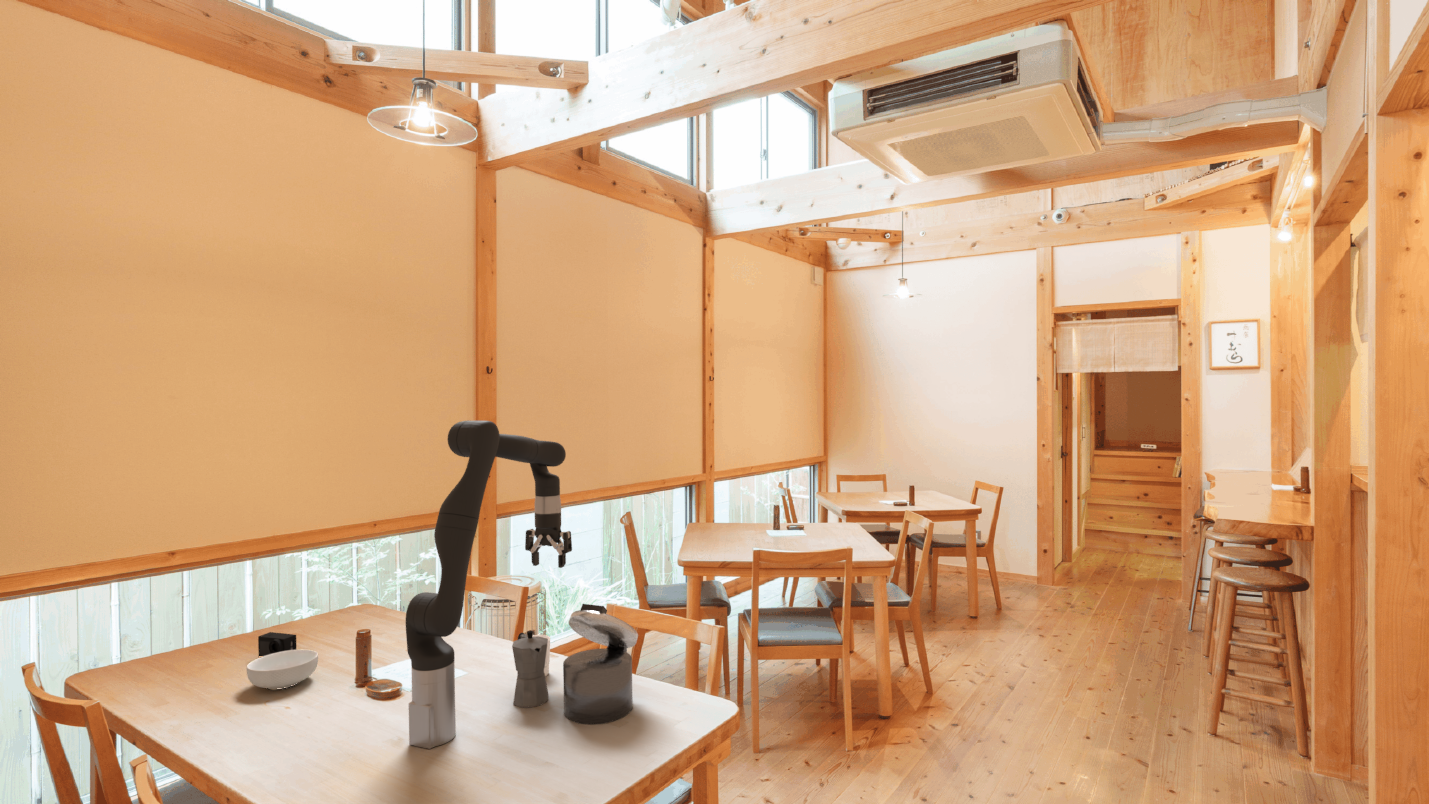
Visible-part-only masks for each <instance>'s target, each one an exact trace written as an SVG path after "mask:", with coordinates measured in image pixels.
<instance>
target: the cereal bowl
mask: <svg viewBox="0 0 1429 804" xmlns="http://www.w3.org/2000/svg"><path fill="white" fill-rule="evenodd" d="M318 663H319V653H318V651H315V650H314V649H313V650H312V649H307V648H306V649H305V648H303V649H296V650H288V651H282V652H277V653H273V654H269V655H266V656H263V657H260V658H259V657H258V658H256V659H253V660H252V661H250V662H249V663H248V664H247V665H246V676H247V679H248V680H249V682H250V683H251V684H252V685H254V686H255V687H258V688H261V689H262V688H264V689H265V688H266V689H267V688H269V689H277V688H284V687H289V686H291V685H294V684H296V683H298V682H299V683H300V682H302V681H304V680H306V679H308V677H310V676H311V675H312V674H313V673H314V672H315V670H316V669H317V667H318ZM299 683H298V684H299Z"/></svg>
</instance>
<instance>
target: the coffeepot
mask: <svg viewBox="0 0 1429 804" xmlns="http://www.w3.org/2000/svg"><path fill="white" fill-rule="evenodd" d="M533 635H534V630H528V631H526V633H524V632H520V633H519V634H518V636H517V640H513V642H512V646H511V647H512V648H511V649H512V653H513V659H514V665H515V666H514V667H515V670H516V672H517V676H516V683H515V688H514V689H515V690H514V696H513V705H515V706H516V707H519V708H524V709H525V708H526V709H527V708H535V707H539V706H542V705H543V704H545V703H546V702H548V701H549V690H548V686H547V685H548V684H547V679H546V676H545V673H544V667H545V659H546V651H547V643H548V639H547V638H543V637H539V636H536V637H532V636H533ZM541 704H542V705H541Z"/></svg>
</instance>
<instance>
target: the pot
mask: <svg viewBox="0 0 1429 804" xmlns="http://www.w3.org/2000/svg"><path fill="white" fill-rule="evenodd" d="M627 651H628V648H625V649H620V648H612V647H607V646H606V648H593V649H586V650H582V651H578V652H576V653H573V654H571V655H569V656H568V657H566V658H565V659H564V660H563V665H562V667H563V670H562V671H563V675H562V676H563V714H565V715H564V716H565V718H566V719H568V720H569V721H571V722H573V723H576V724H577V723H578V724H581V725H601V724H602V725H603V724H608V723H611V722H616V721H617V720H618V721H619V720H620V719H623V718H624V717H626V716H628V714H630V713H631V712H632V710H633V704H634V703H633V702H634V701H633V658H632V655H631V654H630V653H628V652H627Z"/></svg>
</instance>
